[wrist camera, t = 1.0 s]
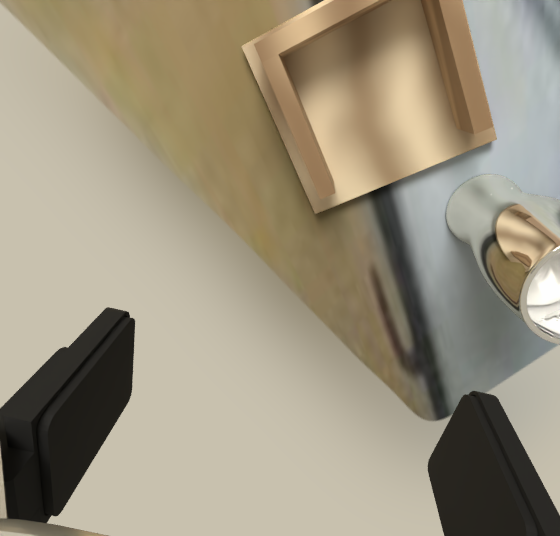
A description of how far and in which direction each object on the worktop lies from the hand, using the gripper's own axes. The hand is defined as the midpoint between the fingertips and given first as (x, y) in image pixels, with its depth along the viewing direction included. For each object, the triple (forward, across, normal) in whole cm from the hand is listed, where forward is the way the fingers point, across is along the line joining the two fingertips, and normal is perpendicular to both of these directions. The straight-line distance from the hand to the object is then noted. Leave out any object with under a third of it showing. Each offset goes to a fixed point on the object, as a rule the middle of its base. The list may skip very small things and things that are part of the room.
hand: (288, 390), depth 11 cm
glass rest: (+26, -3, -7) cm, 27 cm away
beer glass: (+26, -14, -1) cm, 30 cm away
